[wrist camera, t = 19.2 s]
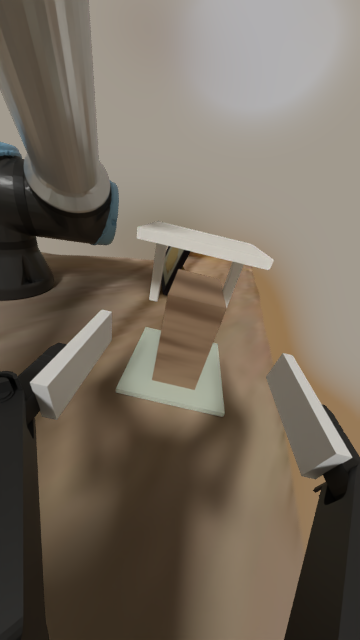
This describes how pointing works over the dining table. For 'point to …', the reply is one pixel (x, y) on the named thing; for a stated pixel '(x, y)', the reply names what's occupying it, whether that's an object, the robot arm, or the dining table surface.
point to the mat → (142, 385)
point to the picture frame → (172, 266)
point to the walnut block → (188, 328)
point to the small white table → (200, 244)
